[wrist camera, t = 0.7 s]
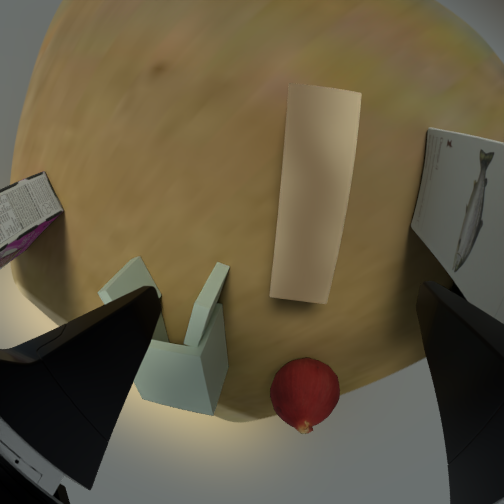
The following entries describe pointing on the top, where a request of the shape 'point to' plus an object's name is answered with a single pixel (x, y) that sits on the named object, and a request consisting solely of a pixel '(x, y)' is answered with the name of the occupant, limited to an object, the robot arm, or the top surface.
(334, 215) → the oak slat
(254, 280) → the top surface
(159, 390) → the forked bracket
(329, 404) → the onion
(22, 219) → the candy bar box
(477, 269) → the supplement box
